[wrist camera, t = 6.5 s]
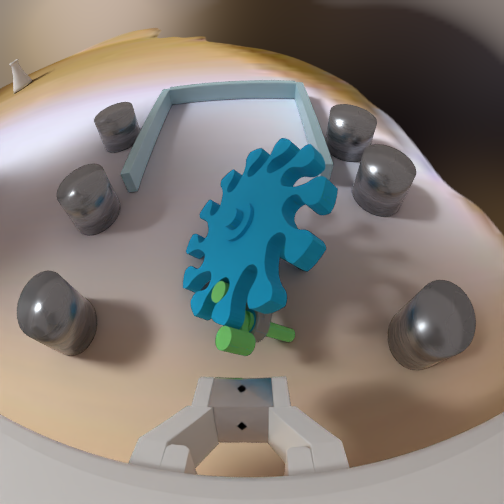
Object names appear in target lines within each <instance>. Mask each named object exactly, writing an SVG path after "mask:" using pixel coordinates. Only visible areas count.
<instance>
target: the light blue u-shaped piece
mask: <svg viewBox="0 0 504 504" xmlns="http://www.w3.org/2000/svg"><path fill="white" fill-rule="evenodd" d="M249 98H289V99H295V101H296V104H297V107H298V110H299V114H300V117H301V120H302V124H303V127H304V131H305V134H306V138H307V141H308V144H311V145H312V146H313V147H314V148H315V149H316V150H317V151H318V152H319V153H321V155H322V156H323V158H324V161H325V170H324V171H323V172H322V173H321V174H319V175H318V176H324V177H326V178H327V179H328V180H329V181H330V177H331V173H332V168H333V162H332V159H331V156H330V153H329V150H328V147H327V144H326V141H325V139H324V136H323V133H322V130H321V128H320V125H319V122H318V120H317V117H316V114H315V112H314V109H313V107H312V104H311V102H310V99H309V97H308V94H307V92H306V90H305V87H304V85H303V83H301V82H295V81H281V80H254V81H228V82H213V83H202V84H192V85H184V86H176V87H170V89H164V90H162V92H161V94H160V96H159V97H158V99H157V101H156V103H155V104H154V106H153V108H152V110H151V112H150V114H149V115H148V117H147V119H146V121H145V123H144V125H143V127H142V129H141V131H140V133H139V135H138V137H137V139H136V141H135V143H134V145H133V147H132V149H131V151H130V154H129V156H128V158H127V160H126V162H125V165H124V167H123V169H122V171H121V177H122V179H123V181H124V183H125V185H126V188H127V190H128V192H135V191H138V188H139V185H140V182H141V179H142V177H143V174H144V171H145V168H146V166H147V163H148V160H149V158H150V155H151V152H152V150H153V147H154V145H155V142H156V140H157V137H158V135H159V133H160V130H161V128H162V126H163V123H164V121H165V119H166V116H167V114H168V112H169V110H170V108H171V105H172V104H180V103H189V102H199V101H211V100H226V99H249ZM318 176H317V177H318Z"/></svg>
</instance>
